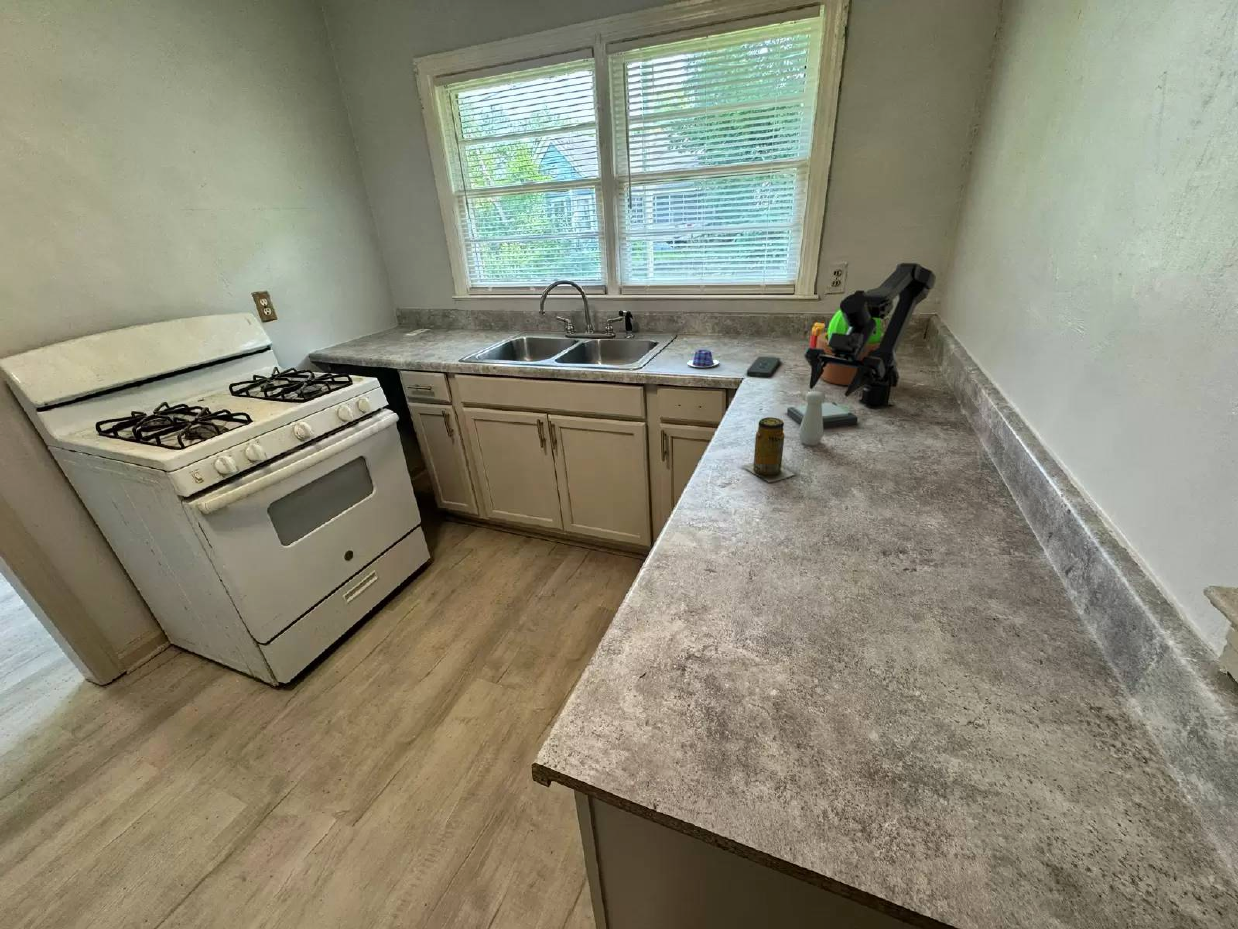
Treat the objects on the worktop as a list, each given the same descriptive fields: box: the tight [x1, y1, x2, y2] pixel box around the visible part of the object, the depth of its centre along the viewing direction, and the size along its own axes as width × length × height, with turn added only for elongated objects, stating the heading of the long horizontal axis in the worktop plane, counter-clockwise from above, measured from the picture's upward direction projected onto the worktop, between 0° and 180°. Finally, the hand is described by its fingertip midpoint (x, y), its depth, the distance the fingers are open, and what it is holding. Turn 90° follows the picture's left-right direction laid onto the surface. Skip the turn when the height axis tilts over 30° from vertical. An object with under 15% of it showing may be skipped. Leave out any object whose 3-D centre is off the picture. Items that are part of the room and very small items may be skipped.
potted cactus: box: [817, 309, 884, 386], centre depth 160 cm, size 22×22×25 cm
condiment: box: [744, 416, 796, 483], centre depth 109 cm, size 7×8×12 cm
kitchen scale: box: [786, 401, 859, 429], centre depth 136 cm, size 14×12×3 cm
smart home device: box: [746, 356, 781, 378], centre depth 181 cm, size 8×2×20 cm
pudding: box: [687, 349, 720, 368], centre depth 189 cm, size 12×12×5 cm
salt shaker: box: [798, 390, 826, 446], centre depth 121 cm, size 6×6×13 cm
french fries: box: [809, 322, 826, 348], centre depth 186 cm, size 9×4×13 cm, turn 163°
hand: (827, 391), depth 122 cm, fingers open, 9 cm apart
